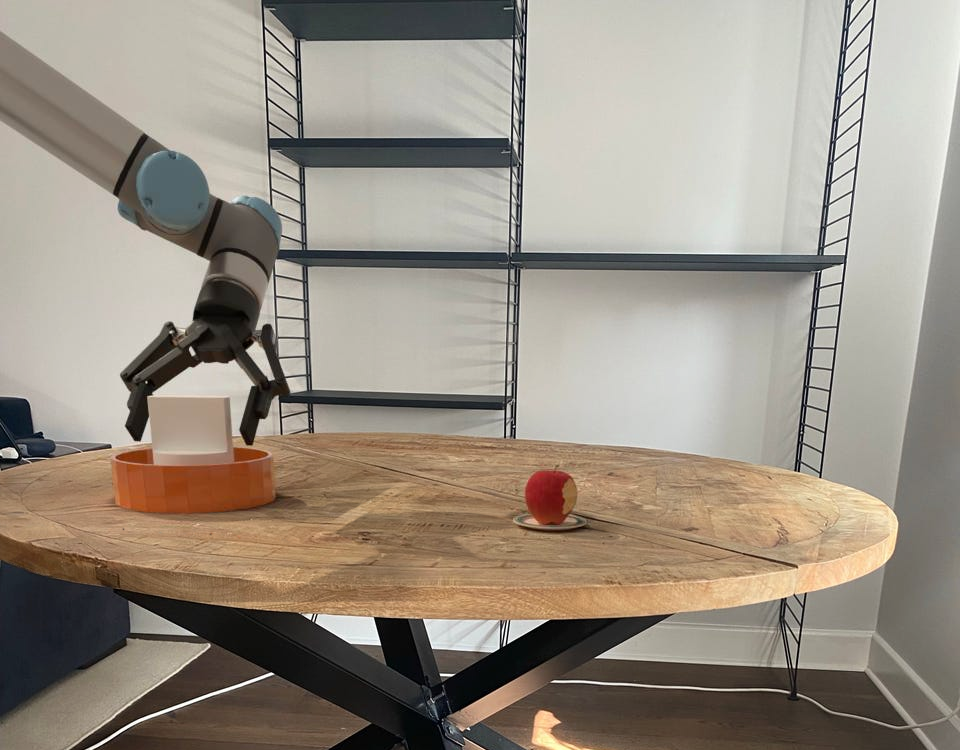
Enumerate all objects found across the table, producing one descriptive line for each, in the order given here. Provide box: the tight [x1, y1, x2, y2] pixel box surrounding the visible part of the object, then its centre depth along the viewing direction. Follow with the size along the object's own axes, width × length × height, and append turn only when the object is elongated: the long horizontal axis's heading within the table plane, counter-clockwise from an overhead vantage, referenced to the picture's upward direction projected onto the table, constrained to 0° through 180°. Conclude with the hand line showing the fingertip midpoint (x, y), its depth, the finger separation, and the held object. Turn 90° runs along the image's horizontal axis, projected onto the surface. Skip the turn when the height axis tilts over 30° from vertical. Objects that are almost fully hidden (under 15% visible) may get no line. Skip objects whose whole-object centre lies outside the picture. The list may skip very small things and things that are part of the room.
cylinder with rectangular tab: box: [147, 394, 234, 465], centre depth 106 cm, size 9×9×12 cm
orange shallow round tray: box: [110, 446, 277, 514], centre depth 107 cm, size 18×18×6 cm
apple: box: [513, 464, 587, 532], centre depth 99 cm, size 8×8×6 cm
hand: (188, 436), depth 104 cm, fingers open, 13 cm apart
